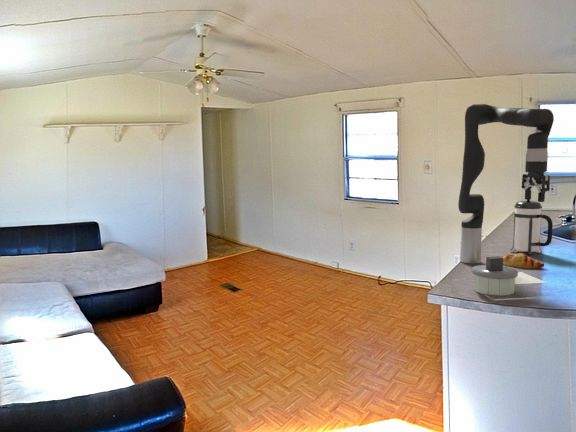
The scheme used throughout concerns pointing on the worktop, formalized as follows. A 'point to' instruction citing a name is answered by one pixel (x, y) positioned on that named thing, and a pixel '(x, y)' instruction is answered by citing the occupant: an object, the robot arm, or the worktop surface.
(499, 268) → the lid
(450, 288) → the worktop surface
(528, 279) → the mat
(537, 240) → the coffee press
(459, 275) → the worktop surface
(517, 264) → the croissant
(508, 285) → the bowl
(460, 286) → the worktop surface
